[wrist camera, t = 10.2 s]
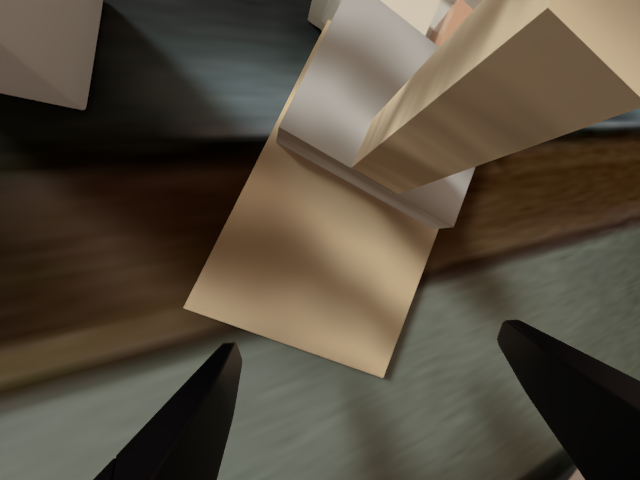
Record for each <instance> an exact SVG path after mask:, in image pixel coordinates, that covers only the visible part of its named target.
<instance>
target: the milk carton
mask: <svg viewBox="0 0 640 480" xmlns="http://www.w3.org/2000/svg"><path fill="white" fill-rule="evenodd" d="M102 5H103V0H0V93H2V94H7V95H11V96H16V97H21V98H26V99H31V100H36V101H40V102H45V103H50V104H55V105H60V106H65V107H69V108H74V109H79V110H85V109H86V106H87V101H88V95H89V88H90V82H91V76H92V69H93V63H94V56H95V50H96V44H97V37H98V31H99V25H100V18H101V12H102Z"/></svg>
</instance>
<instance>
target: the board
mask: <svg viewBox="0 0 640 480" xmlns="http://www.w3.org/2000/svg"><path fill="white" fill-rule="evenodd" d="M330 23H331V21H330V20H329V19H328V21H327V23H326V25H325V27H324V29H323V31H322V33H321V35H320V37H319V39H318V41H317V43H316V45H315V47H314V49H313V51H312V53H311V55H310V57H309V59H308V61H307V63H306V65H305V67H304V69H303V70H302V72H301V74H300V76H299V78H298V80H297V82H296V84H295V86H294V88H293V90H292V92H291V94H290V96H289V98H288V100H287V102H286V104H285V106H284V108H283V110H282V112H281V114H280V116H279V118H278V120H277V122H276V124H275V126H274V128H273V130H272V132H271V134H270V136H269V138H268V140H267V142H266V144H265V146H264V148H263V150H262V152H261V154H260V156H259V158H258V160H257V162H256V164H255V166H254V168H253V170H252V172H251V174H250V176H249V178H248V180H247V182H246V184H245V186H244V188H243V190H242V192H241V194H240V196H239V198H238V200H237V202H236V204H235V206H234V208H233V210H232V212H231V214H230V216H229V218H228V220H227V222H226V224H225V226H224V228H223V230H222V232H221V234H220V236H219V238H218V240H217V242H216V244H215V246H214V248H213V250H212V252H211V254H210V256H209V258H208V260H207V262H206V264H205V266H204V268H203V270H202V272H201V274H200V276H199V278H198V280H197V282H196V284H195V286H194V288H193V290H192V291H191V293H190V295H189V297H188V299H187V301H186V303H185V305H184V307H183V308H184V309H187V310H190V311H193V312H196V313H199V314H202V315H204V316H207V317H210V318H213V319H216V320H219V321H221V322H224V323H227V324H230V325H233V326H236V327H239V328H241V329H244V330H247V331H250V332H253V333H256V334H259V335H261V336H264V337H267V338H270V339H273V340H276V341H278V342H281V343H284V344H287V345H290V346H293V347H296V348H298V349H301V350H304V351H307V352H310V353H313V354H316V355H318V356H321V357H324V358H327V359H330V360H333V361H335V362H338V363H341V364H344V365H347V366H350V367H353V368H355V369H358V370H361V371H364V372H367V373H370V374H373V375H375V376H378V377H381V378H384V375H385V372H386V369H387V367H388V364H389V361H390V359H391V356H392V353H393V351H394V348H395V345H396V343H397V340H398V337H399V335H400V332H401V329H402V326H403V324H404V321H405V318H406V316H407V313H408V310H409V308H410V305H411V302H412V300H413V297H414V294H415V291H416V289H417V286H418V283H419V281H420V278H421V275H422V273H423V270H424V267H425V265H426V262H427V259H428V257H429V254H430V251H431V248H432V246H433V243H434V240H435V238H436V235H437V232H438V230H439V229H431V228H430V227H428V226H426V225H424V224H422V223H421V222H419V221H417V220H415V219H413V218H412V217H410V216H408V215H406V214H404V213H403V212H401V211H399V210H397V209H396V208H394V207H392V206H390V205H388V204H387V203H385V202H383V201H381V200H379V199H378V198H376V197H374V196H372V195H370V194H369V193H367V192H365V191H363V190H361V189H360V188H358V187H356V186H354V185H352V184H351V183H349V182H347V181H345V180H343V179H342V178H340V177H338V176H336V175H335V174H333V173H331V172H329V171H327V170H326V169H324V168H322V167H320V166H318V165H317V164H315V163H313V162H311V161H309V160H308V159H306V158H304V157H302V156H300V155H299V154H297V153H295V152H293V151H291V150H290V149H288V148H286V147H284V146H283V145H281V144H279V143H277V142H276V139H277V134H278V128H279V125H280V123H281V121H282V119H283V117H284V115H285V113H286V111H287V109H288V107H289V105H290V103H291V101H292V99H293V97H294V95H295V93H296V91H297V89H298V87H299V85H300V83H301V81H302V79H303V77H304V75H305V73H306V71H307V69H308V67H309V65H310V63H311V61H312V59H313V57H314V55H315V53H316V51H317V49H318V47H319V45H320V43H321V41H322V39H323V37H324V35H325V33H326V31H327V29H328V27H329V25H330Z"/></svg>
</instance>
